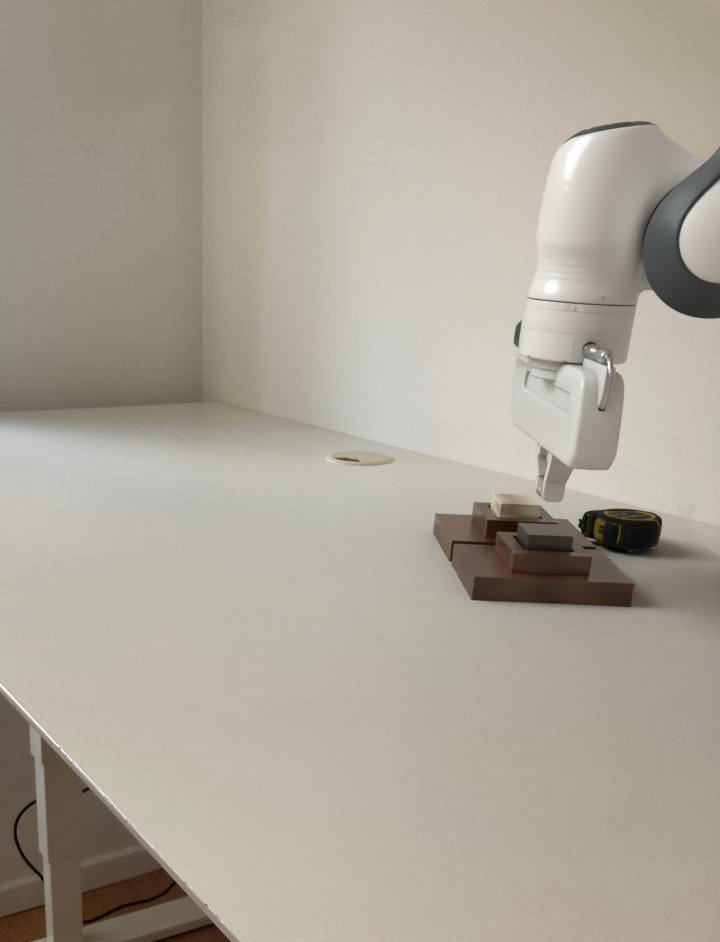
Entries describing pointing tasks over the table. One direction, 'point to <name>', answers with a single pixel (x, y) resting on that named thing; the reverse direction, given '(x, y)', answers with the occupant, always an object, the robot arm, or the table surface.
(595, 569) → the key block near
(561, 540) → the black key
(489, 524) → the key block far
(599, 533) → the tape measure
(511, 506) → the ivory key
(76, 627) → the table surface
